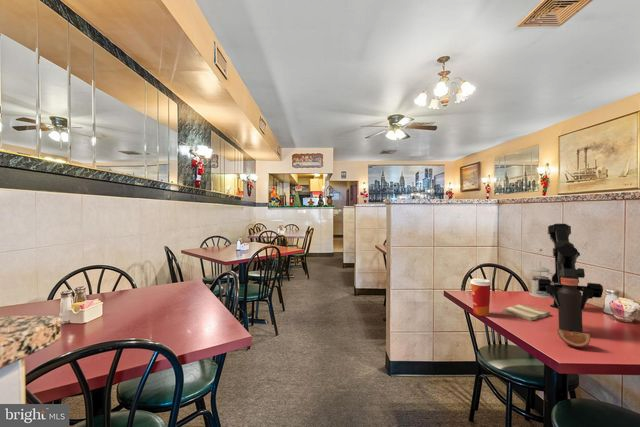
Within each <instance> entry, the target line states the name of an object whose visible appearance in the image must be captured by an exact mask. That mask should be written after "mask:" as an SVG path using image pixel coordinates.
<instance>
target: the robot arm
mask: <svg viewBox="0 0 640 427" xmlns="http://www.w3.org/2000/svg"><path fill="white" fill-rule="evenodd" d="M571 234H572V226H571V225H569V224H568V223H554V224H550V225H548V226H547V235H549V239H550V241H551V243H553V245H554V246H553V247H554V248H553V247H552V257H554V269H555V270H554V274H553V275H551V278H549V279H543V278H540V279H538V280H537V281H538V285H537V286H538V290H539V291H543V292H546V293H547V294H550V295H551V296H552V297H551V299H553V304H550V305H549V306H550V307H551V308H552V307H553V308H557V309H558V306H560V303H559V300H558V290H559V289H560V288H562V285H561V277H567V278H576V279H578V285H577V286H578V287H577V289H578V290H579V291H580V292H581V294H582V311H583V310H584V309H585V306H586V304H587V302H588V300H589V299H594V298H597V299H600V298H602V296H603V292H604V286H603V285H602V284H601V283H596V282H594V283H593V282H587V283H586V285H579V283H580V280H579V279H584V278H585V276H586V275H585V268H582V267H581V268H576V263H577V259H578V258H579V257H580V256H581V253H580V252H579V251H578V249H577V248H576V247H575V245H574V244H573V243H571V242H570V239H569V237H570V236H571Z"/></svg>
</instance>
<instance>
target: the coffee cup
mask: <svg viewBox="0 0 640 427" xmlns="http://www.w3.org/2000/svg"><path fill="white" fill-rule="evenodd" d="M469 282H470V286H471V289H470V290H471V300H472V313H473V315H476V316H478V317H479V316H480V317H488V316H489V315H490V305H491V304H490V300H491V299H490V298H491V285H492V283H491V280H489V279H486V278H480V277H479V278H476V277H475V278H471V279H470V281H469Z"/></svg>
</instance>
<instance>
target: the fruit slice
mask: <svg viewBox="0 0 640 427" xmlns="http://www.w3.org/2000/svg"><path fill="white" fill-rule="evenodd" d="M557 335H558V336H559V337H558V338H559V339H561V340H562V341H563V342H564V343H565V344H567V345H569V346H571V347H573V348H577V349H582V348H586V346H588V345H589V344H590V342H591V334H590V333H586V332H583V333H580V332H574V331H573V332H570V331H566V330H560V329H559V328H558V329H557Z"/></svg>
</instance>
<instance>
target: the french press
mask: <svg viewBox="0 0 640 427" xmlns="http://www.w3.org/2000/svg"><path fill="white" fill-rule="evenodd" d="M537 251H539V252H542V251H543V249H542V248H538V249H537ZM531 271H534V272H538V273H539V275H532V276H531V277H532V278H531V292H529V295H530V296H533V297H535V298H544V299H549V298H551V299H552V296H551V295H550V294H547V293H546V292H543V291H539V290H538V279H540V278H543V279H550V278H549V277H548V276H549V275H551V276H553V275H554V274H553V272H550V269H549V268H548V267H544V266H542V265H541V261H539V266H534V267H532V268H531ZM541 273H546V275H547V276H546V275H545V276H544V275H542V274H541Z"/></svg>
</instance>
